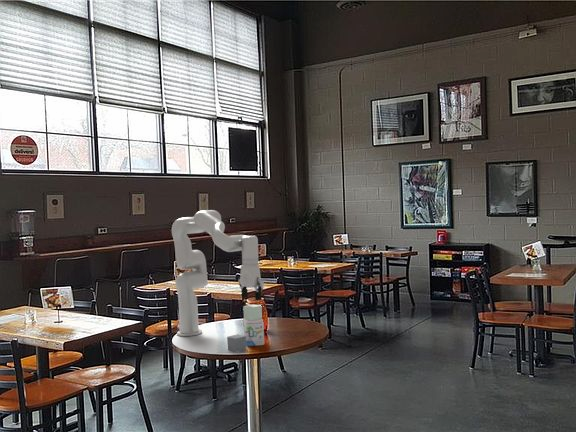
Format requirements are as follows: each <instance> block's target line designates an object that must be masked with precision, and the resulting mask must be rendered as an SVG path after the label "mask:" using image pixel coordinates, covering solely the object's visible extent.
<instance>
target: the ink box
mask: <svg viewBox="0 0 576 432" xmlns="http://www.w3.org/2000/svg"><path fill="white" fill-rule="evenodd" d="M243 336H246V347H253V346H264V345H265V331H264V322H263V319H257V320H253V321H251V320H246V319H244V317H243Z"/></svg>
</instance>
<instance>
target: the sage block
mask: <svg viewBox="0 0 576 432" xmlns="http://www.w3.org/2000/svg"><path fill="white" fill-rule="evenodd" d="M261 305H262V304H249V305H243V318H244V319H246V320H251V321H253V320H257V319H262V306H261Z"/></svg>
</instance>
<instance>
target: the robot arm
mask: <svg viewBox="0 0 576 432" xmlns="http://www.w3.org/2000/svg"><path fill="white" fill-rule="evenodd" d="M225 228H226V225H225V223H224V222H223V221H222V215H221V214H220V212H219V211H217V210H214V209H209V210H208V209H205V210H204V209H203V210H199V211H197V212H196V213H194V216H186V217H180V218H178V219H175V220H174V222H173V223H172V226H171V236H172V238H173V239H172V240H173V242H174V252H175V263H176V266H177V268H178V270H180V271H181V270H182V271H183V270H192V271H186V272H182V273H179V274H178V275H177V276H176V278H175V281H174V283H175V288H176V291H177V298H178V299H177V300H178V301H177V302H178V316H179V317H178V318H179V321H178V322H179V324H178V325H177V326H176V327H177V329H179V330H178V331H177V332H176V335H177V336H178V337H193V336H199V335H200V334H202V332H203V330H202V329H199V311H198V297H197V294H196V293H195V291H196V290H199V289H200V290H201V289H202V288H206V286H207V283H208V271H207V270H208V269H207V259H206V256H205V254H204V253H203V251H201V250H199V249H193V248H192V241H191V239H190V238H189V236H188V235H190V234H200V233H205V232H206V233H207V234H209V235H210V236H211V239H212V241H213V243H214V245H215V246H217V247H218V248H220V249H221V250H222V251H224V252H227V253H233V252H240V251H241V263H242V264H241V267H240V274H239V275H240V276H239V279H238V280H237V282H238V284H239V287H240V290H241V298H242V299H245V298H248V288H254V290H255V292H254V296H255V298H254V299H255V301H262V291H263V289H264V286H265V282H264V281H263V280H262V278H261V269H260V266H259V239H258V237H257V236H256V235H245V234H234V235H228V234H226V233H224V232H225ZM194 290H195V291H194Z"/></svg>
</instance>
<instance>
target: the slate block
mask: <svg viewBox="0 0 576 432" xmlns="http://www.w3.org/2000/svg"><path fill="white" fill-rule="evenodd" d="M226 339H227V350H228V351H231V352H233V353H234V352H235V353H238V352H241V351H244V350H245V351H246V350H247V347H248V346H246V336H244V334H239V333H238V334H233V335H230V336H227V337H226Z"/></svg>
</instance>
